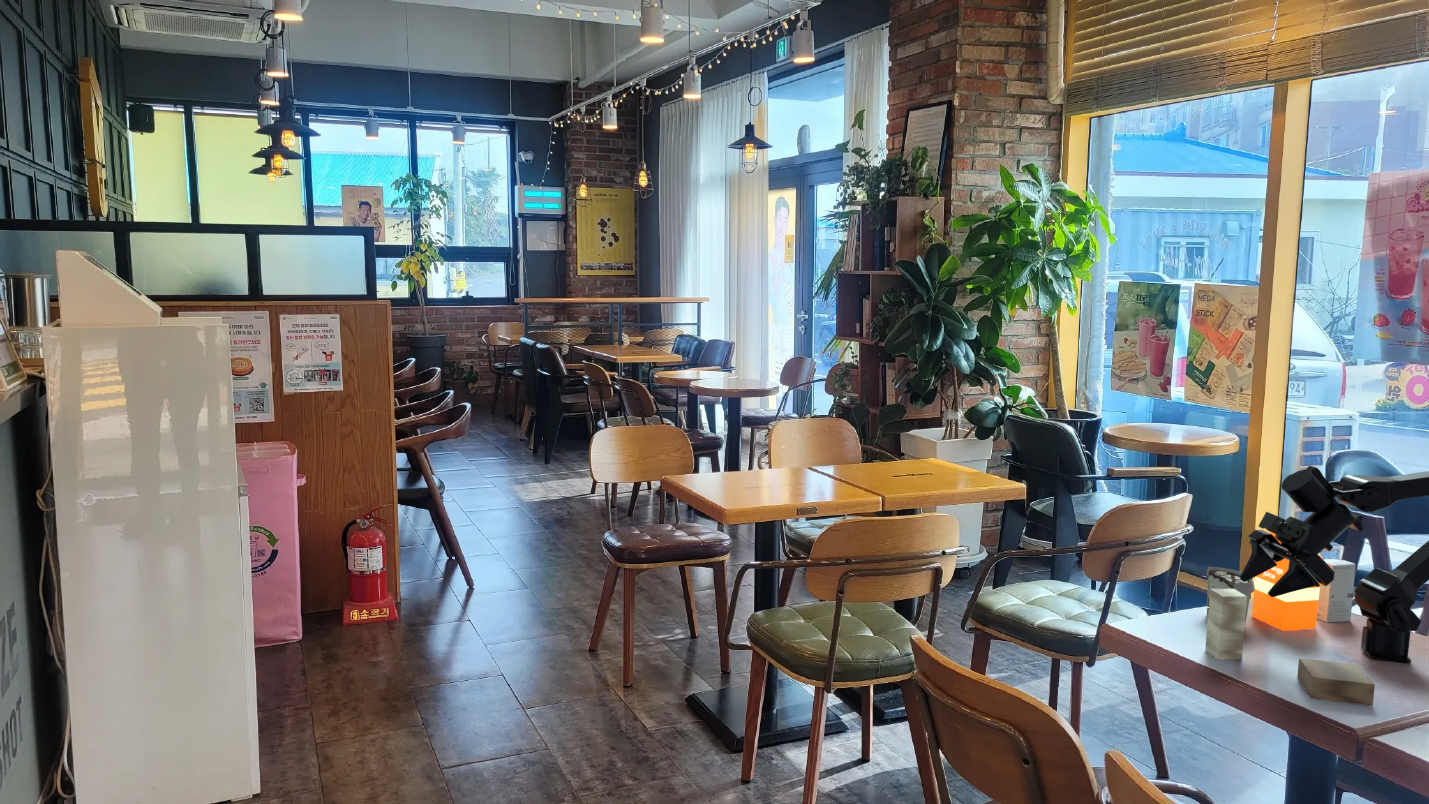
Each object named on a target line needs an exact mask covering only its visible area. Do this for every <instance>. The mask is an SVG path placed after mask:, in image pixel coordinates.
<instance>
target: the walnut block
mask: <svg viewBox="0 0 1429 804" xmlns="http://www.w3.org/2000/svg"><path fill="white" fill-rule="evenodd" d="M1296 678H1297V680H1298V681H1299V683H1300V685H1301V686H1302V687H1303V689H1304V688H1305V689H1304V690H1305V692H1306V691H1307V692H1306V694H1307V695H1308V696H1309V698H1310V699H1313V698H1314V700H1322V701H1329V700H1330V702H1336V703H1345V702H1347V704H1355V705H1363V706H1369V707H1370V706H1371V707H1373V705H1374V697H1375V688H1376V684H1375V683H1374V681H1372V679H1371V678H1370V677H1369V675H1368V674H1367V673H1366V671H1364V670H1363V669H1362V667H1361V666H1360V665H1359V664H1357V663H1348V662H1338V661H1330V660H1320V659H1312V658H1306V657H1305V658H1304V657H1298V667H1297V677H1296Z"/></svg>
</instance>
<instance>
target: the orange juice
mask: <svg viewBox="0 0 1429 804" xmlns="http://www.w3.org/2000/svg"><path fill="white" fill-rule="evenodd" d="M1268 533H1270V534H1272V535H1273V536H1274V537H1275V535H1276V534H1274V533H1272V532H1270V531H1268ZM1279 542H1280V541H1279ZM1280 544H1281V542H1280ZM1287 554H1288V553H1287ZM1318 555H1319V556H1320V557H1321V558H1322V559H1323V557H1322V555H1321V552H1320V553H1319V554H1318ZM1275 563H1276V564H1277V566H1275V567H1273V568H1271V569H1269V570H1267V571H1265V572H1263V573H1261V574H1260V575H1258V576H1256V577H1254V586H1255V591H1254V592H1253V599H1252V611H1251V617H1253V618H1255V619H1256V620H1259V621H1260V622H1263V623H1265V622H1266V623H1265V624H1267V625H1269V624H1270V625H1269V626H1271V627H1274V626H1275V627H1274V628H1276V629H1278V628H1279V629H1278V630H1280V629H1281V630H1280V631H1283V632H1286V631H1287V632H1288V631H1301V630H1300V629H1305V630H1311V629H1310V628H1316V627H1317V608H1318V600H1319V590H1320V586H1319V587H1316V586H1314V587H1310V588H1306V589H1301V590H1297V591H1294V592H1290V593H1286V594H1283V595H1280V596H1276V597H1270V596H1269V595H1268V592H1269V590H1270V589H1271V588H1272V587H1273V586H1274V584H1275V583H1276V582H1277V581H1278V580H1279V579H1280V578H1281V577H1282V576H1283V575H1284V574H1285V573H1286V572H1287V570H1288V567H1289V560H1287V559H1285V558H1284V559H1283V560H1282V561H1279V562H1275ZM1319 584H1320V583H1319ZM1307 628H1308V629H1307ZM1316 629H1317V628H1316Z"/></svg>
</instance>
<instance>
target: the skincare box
mask: <svg viewBox="0 0 1429 804" xmlns="http://www.w3.org/2000/svg"><path fill="white" fill-rule="evenodd" d="M1323 560H1324V561H1325V562H1326V563H1327V564H1328V566H1329V567H1330V568H1331V569H1332V570H1333V571H1334V572H1335V575H1334V580H1333V581H1332V582H1331V583H1330V584H1329V585H1327V586H1324V585H1322V584H1320V590H1319V600H1318V608H1317V619H1318V620H1319V621H1322V622H1325V623H1335V622H1336V623H1337V622H1339V623H1341V622H1350V621H1351V619H1352V611H1353V610H1352V608H1353V598H1354V586H1355V579H1356V577H1355V575H1356V566H1357V565H1356V564H1355V563H1354V562H1350V561H1347V560H1344V559H1340V558H1334V559H1333V558H1325V559H1323ZM1317 619H1316V620H1317Z"/></svg>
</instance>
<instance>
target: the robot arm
mask: <svg viewBox="0 0 1429 804" xmlns="http://www.w3.org/2000/svg"><path fill="white" fill-rule="evenodd" d="M1281 489H1282V490H1283V492H1284V493H1285V494H1286V495H1287V496H1288V497H1289V498H1290V499H1291V500H1292V502H1293V503H1294V504H1295V505H1296V506H1297V507H1298V508H1299V509H1300V510H1301V511H1302V512H1304V513H1310V514H1309V515H1308V516H1307V517H1306V518H1305V519H1304V520H1300V519H1298V518H1296V517H1294V516H1289V517H1287V518H1286V519H1285V518H1283V517H1280V516H1279V515H1276V514H1273V513H1272V512H1268V511H1265V513H1264V515H1263V517H1262V519H1261V520H1260V521H1259V524H1258V526H1257V527H1259V528H1260V529H1255V530H1253V531H1252V532H1251V533H1250V534H1249V535H1248V536H1247V537H1248V538H1249V545H1250V546H1251V554H1250V557H1249V559H1248V561H1247V563H1246V565H1245V566H1244V569H1243V570H1242V574H1241V576H1240V579H1241V580H1242V581H1243V582H1245V581H1247V580H1250V579H1253V578H1254V579H1255V577H1256V576H1258V575H1260V574H1261V573H1263V572H1265V571H1267V570H1269V569H1271V568H1273V567H1275V566H1277V564H1276V563H1275V562H1279V561H1282V560H1283V559H1284V558H1285V559H1287V560H1289V567H1288V570H1287V572H1286V573H1285V574H1284V575H1283V576H1282V577H1281V578H1280V579H1279V580H1278V581H1277V582H1276V583H1275V584H1274V586H1273V587H1272V588H1271V589H1270V590H1269V592H1268V595H1269V596H1270V597H1276V596H1280V595H1283V594H1286V593H1290V592H1294V591H1297V590H1301V589H1306V588H1310V587H1314V586H1316V587H1319V586H1320V584H1322V585H1324V586H1327V585H1329V584H1330V583H1331V582H1332V581H1333V580H1334V575H1335V572H1334V571H1333V570H1332V569H1331V568H1330V567H1329V566H1328V564H1327V563H1326V562H1325V561H1324V559H1323V557H1322V556H1321V557H1322V558H1321V557H1320V556H1319V555H1318V554H1319V553H1320V554H1321V553H1322V552H1323V550H1325V551H1327V552H1330V551H1331V550H1333V549H1334V546H1333V545H1332V543H1333V542H1334V541H1335V540H1336V539H1337V538H1338V537H1340V536H1341V535H1342V534H1343V533H1344V532H1345V531H1346V530H1347V529H1348V528H1351V529H1353V530H1356V531H1358V532H1362V531H1364V524H1363V516H1362V515H1360V514H1357V513H1353V511H1351V510H1350V508H1354V509H1356V510H1359V511H1362V512H1365V513H1374V512H1377V511H1379V510H1383V509H1386V508H1389V507H1391V506H1392V505H1393V504H1395V502H1399V501H1402V500H1408V499H1410V500H1411V499H1414V498H1415V499H1416V498H1422V497H1429V470H1426V471H1420V472H1413V473H1406V474H1400V475H1393V476H1377V475H1368V474H1347V475H1344V476H1342V477H1341V478H1340V479H1339V480H1333V481H1328V479H1326V477H1325V475H1323V473H1322V471H1321V470H1320V469H1319V468H1318V467H1316V466H1315V465H1314V466H1313V465H1309V466H1307V467H1306V468H1305V469H1301V470H1297V471H1295V472H1294V473H1292V474H1288V475H1287V476H1286V477H1285V478H1284V479H1283V481H1282V483H1281ZM1335 499H1337V500H1338V501H1339V502H1340V503H1338V502H1337V501H1336V500H1335ZM1349 507H1350V508H1349ZM1264 529H1265V530H1266V531H1265V530H1264ZM1269 532H1272V533H1274V534H1276V535H1275V537H1274V536H1273V535H1272V534H1270V533H1269ZM1279 541H1280V542H1281V544H1280V542H1279ZM1287 553H1288V554H1287ZM1428 581H1429V539H1428V540H1427V541H1426V542H1425V543H1424V544H1423V545H1422V546H1420V547H1419V548H1418V549H1416V550H1415V551H1414V552H1413V553H1411V555H1409V556H1408V557H1407V558H1406V559H1404V560H1403V561H1402V562H1401V563H1400V564H1399V565H1397V566H1396V567H1395V568H1393V569H1391V570H1388V571H1387V570H1383V569H1381V568H1379V567H1375V568H1373V569H1372V570H1371V571H1370V573H1368V574H1367V576H1365V577H1364V578H1362V579H1359V580H1358V582H1359V584H1358V586H1357V587H1355V590H1354V593H1355V594H1354V600H1355V603H1356V604H1357V606H1358V607H1359V610H1360V614H1361V616H1362V617H1366V624H1365V625H1364V626H1363V627H1362V632H1361V643H1360V648H1361V649H1362V650H1363V651H1364V652H1365V653H1366V655H1368V657H1369V658H1371V659H1374V660H1382V661H1394V662H1399V663H1401V662H1402V663H1412V659H1411V658H1410V657H1409V651H1410V649H1409V648H1410V640H1411V632H1417V631H1418V630H1419V628H1420V625H1421V623H1422V620H1421V618H1419V616H1418V615H1417V614H1416V613H1415V612H1414V611H1413V610H1412V609H1411V608H1412V607H1413V606H1414V605H1415V604H1416V599H1417V595H1418V593H1419V589H1420V588H1422V587H1423V586H1424V585H1425V584H1427V582H1428ZM1319 583H1320V584H1319Z"/></svg>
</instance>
